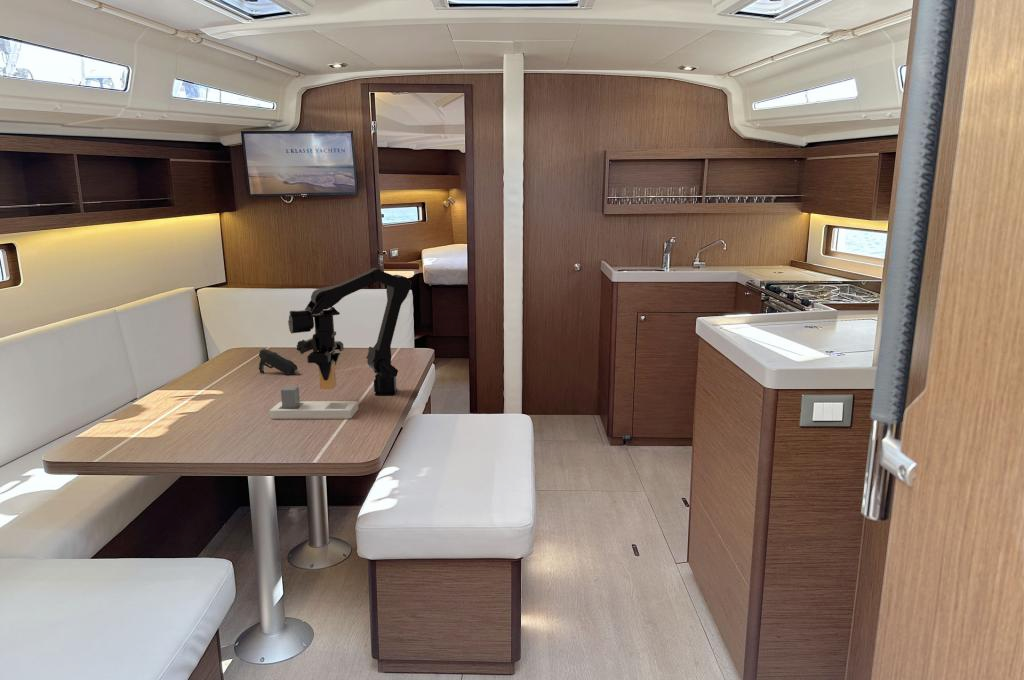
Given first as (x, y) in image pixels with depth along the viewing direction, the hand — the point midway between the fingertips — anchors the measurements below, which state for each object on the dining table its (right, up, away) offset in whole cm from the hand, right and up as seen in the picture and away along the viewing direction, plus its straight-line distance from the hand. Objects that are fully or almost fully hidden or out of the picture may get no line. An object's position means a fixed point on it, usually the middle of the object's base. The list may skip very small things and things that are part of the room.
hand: (327, 378), depth 217 cm
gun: (-28, -1, +37) cm, 46 cm away
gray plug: (-8, -10, -10) cm, 16 cm away
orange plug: (0, -3, +1) cm, 3 cm away
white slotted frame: (-1, -10, -10) cm, 14 cm away
